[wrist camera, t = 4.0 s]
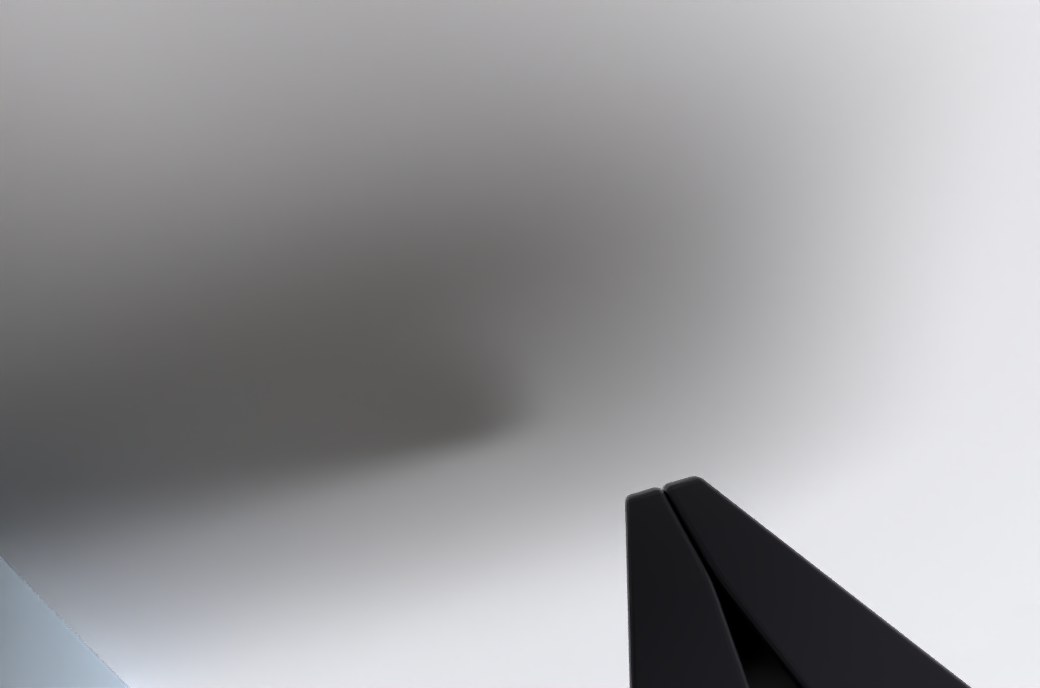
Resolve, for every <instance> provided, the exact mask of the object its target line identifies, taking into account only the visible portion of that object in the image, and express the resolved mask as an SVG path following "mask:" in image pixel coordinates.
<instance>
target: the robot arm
mask: <svg viewBox="0 0 1040 688" xmlns="http://www.w3.org/2000/svg"><path fill="white" fill-rule="evenodd" d="M625 518H626V558H627V599H628V639H629V680H630V688H971V687H970V686H968V685H967V684H966V683H965V682H963V681H962V680H961V679H959V678H958V677H957V676H956V675H954V674H953V673H952V672H950V671H949V670H948V669H947V668H945V667H944V666H943V665H941V664H940V663H939V662H938V661H936V660H935V659H934V658H932V657H931V656H930V655H929V654H927V653H926V652H925V651H923V650H922V649H921V648H920V647H918V646H917V645H916V644H914V643H913V642H912V641H911V640H909V639H908V638H907V637H905V636H904V635H903V634H902V633H900V632H899V631H898V630H896V629H895V628H894V627H893V626H891V625H890V624H889V623H887V622H886V621H885V620H884V619H882V618H881V617H880V616H878V615H877V614H876V613H875V612H873V611H872V610H871V609H869V608H868V607H867V606H866V605H864V604H863V603H862V602H860V601H859V600H858V599H857V598H855V597H854V596H853V595H851V594H850V593H849V592H848V591H846V590H845V589H844V588H842V587H841V586H840V585H839V584H837V583H836V582H835V581H833V580H832V579H831V578H830V577H828V576H827V575H826V574H824V573H823V572H822V571H820V570H819V569H818V568H817V567H815V566H814V565H813V564H811V563H810V562H809V561H808V560H806V559H805V558H804V557H802V556H801V555H800V554H799V553H797V552H796V551H795V550H793V549H792V548H791V547H790V546H788V545H787V544H786V543H784V542H783V541H782V540H781V539H779V538H778V537H777V536H775V535H774V534H773V533H772V532H770V531H769V530H768V529H766V528H765V527H764V526H763V525H761V524H760V523H759V522H757V521H756V520H755V519H754V518H752V517H751V516H750V515H748V514H747V513H746V512H745V511H743V510H742V509H741V508H739V507H738V506H737V505H736V504H734V503H733V502H732V501H730V500H729V499H728V498H727V497H725V496H724V495H723V494H721V493H720V492H719V491H718V490H716V489H715V488H714V487H712V486H711V485H710V484H709V483H707V482H706V481H705V480H703V479H702V478H700V477H696V476H692V477H688V478H685V479H681V480H678V481H674V482H671V483H668V484H666V485H665V486H664V487H663V490H661V489H660V488H651V489H648V490H644V491H641V492H638V493H634V494H631V495H629V496H628V497H627V498H626V501H625Z"/></svg>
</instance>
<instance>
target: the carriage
mask: <svg viewBox="0 0 1040 688" xmlns="http://www.w3.org/2000/svg"><path fill="white" fill-rule="evenodd" d="M0 688H130V687H129V686H128V685H127V684H126V683H125V682H124V681H123V680H122V679H121V678H120V677H119V676H118V675H117V674H116V673H115V672H114V671H113V670H112V669H111V668H110V667H109V666H108V665H107V664H106V663H105V662H104V661H103V660H102V659H101V658H100V657H99V656H98V655H97V654H96V653H95V652H94V651H93V650H92V649H91V648H90V647H89V646H88V645H87V644H86V643H85V642H84V641H83V640H82V639H81V638H80V637H79V636H78V635H77V634H76V633H75V632H74V631H73V630H72V629H71V628H70V627H69V626H68V625H67V624H66V623H65V622H64V620H63V619H62V618H61V617H60V616H59V615H58V614H57V613H56V612H55V611H54V610H53V609H52V608H51V607H50V606H49V605H48V604H47V603H46V602H45V601H44V600H43V599H42V598H41V597H40V596H39V595H38V594H37V593H36V592H35V591H34V590H33V589H32V588H31V587H30V586H29V585H28V584H27V583H26V582H25V581H24V580H23V579H22V578H21V577H20V576H19V575H18V574H17V573H16V572H15V571H14V570H13V569H12V568H11V567H10V566H9V565H8V564H7V563H6V562H5V561H4V560H3V559H2V558H1V557H0Z"/></svg>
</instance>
